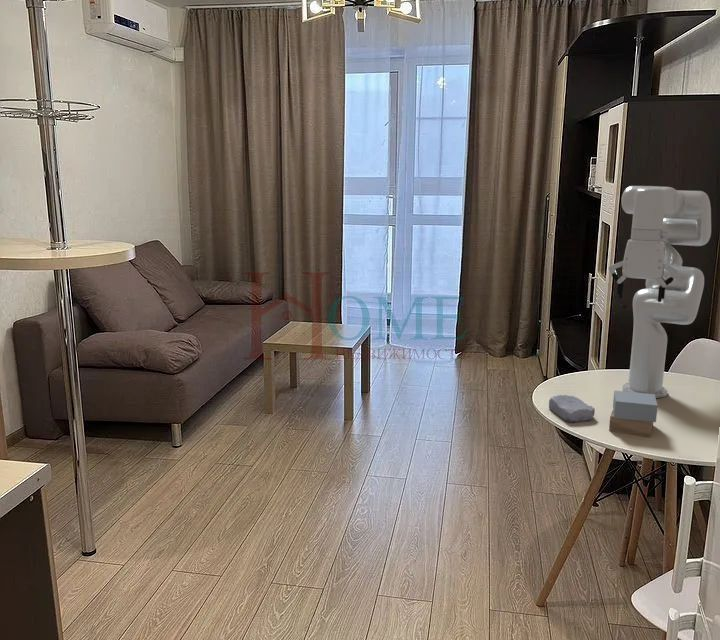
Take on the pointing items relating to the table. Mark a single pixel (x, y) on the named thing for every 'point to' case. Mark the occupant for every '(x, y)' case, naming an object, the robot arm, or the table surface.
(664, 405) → the table surface
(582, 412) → the stone block
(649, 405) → the tower top
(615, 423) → the tower base
